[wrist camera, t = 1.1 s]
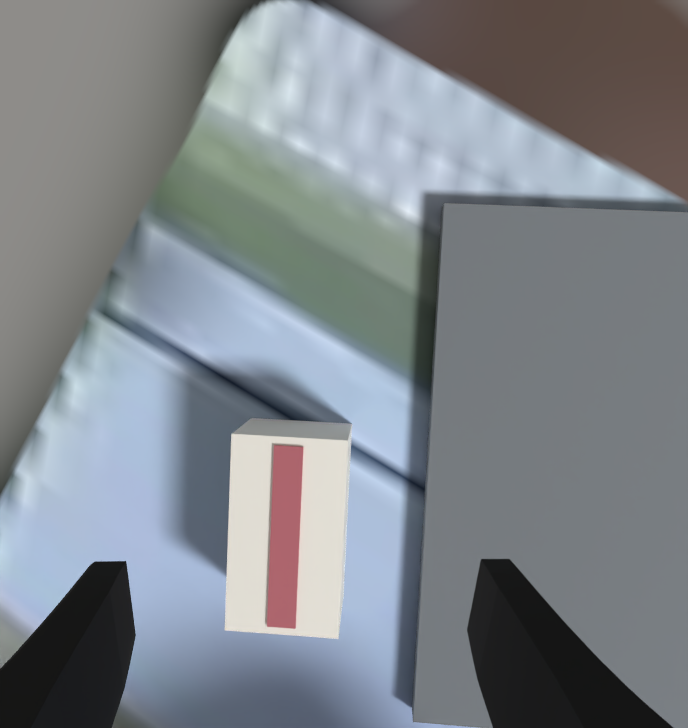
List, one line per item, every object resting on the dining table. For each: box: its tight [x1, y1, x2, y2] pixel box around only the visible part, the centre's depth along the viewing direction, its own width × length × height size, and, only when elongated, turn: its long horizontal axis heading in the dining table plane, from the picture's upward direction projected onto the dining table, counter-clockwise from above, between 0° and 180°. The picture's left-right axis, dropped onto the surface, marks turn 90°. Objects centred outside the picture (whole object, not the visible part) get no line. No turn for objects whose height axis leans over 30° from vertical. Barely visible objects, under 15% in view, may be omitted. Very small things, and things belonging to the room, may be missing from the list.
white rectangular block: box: [225, 418, 352, 639], centre depth 23 cm, size 7×4×4 cm, turn 177°
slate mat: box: [412, 203, 688, 728], centre depth 23 cm, size 20×16×1 cm
